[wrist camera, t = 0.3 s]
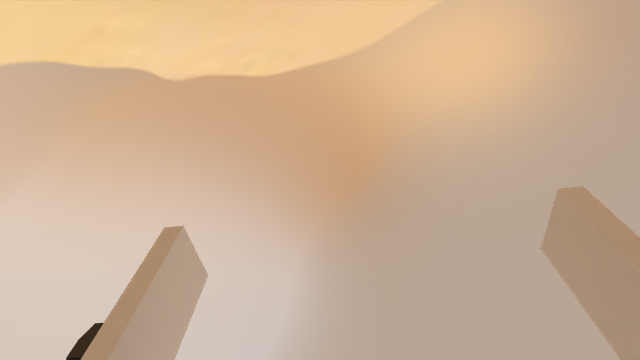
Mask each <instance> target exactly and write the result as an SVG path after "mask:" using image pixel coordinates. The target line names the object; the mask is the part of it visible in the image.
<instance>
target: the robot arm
mask: <svg viewBox="0 0 640 360" xmlns="http://www.w3.org/2000/svg"><path fill="white" fill-rule="evenodd" d="M541 250H542V251H543V252H544V254H545V255H546V257H547V258H548V259H549V261H550V262H551V264H552V265H553V266H554V268H555V269H556V270H557V272H558V273H559V275H560V276H561V277H562V279H563V280H564V282H565V283H566V284H567V286H568V287H569V289H570V290H571V291H572V293H573V294H574V295H575V297H576V298H577V300H578V301H579V302H580V304H581V305H582V307H583V308H584V310H585V311H586V312H587V314H588V315H589V316H590V318H591V319H592V321H593V322H594V323H595V325H596V326H597V328H598V329H599V330H600V332H601V333H602V335H603V336H604V337H605V339H606V340H607V342H608V343H609V344H610V346H611V347H612V349H613V350H614V351H615V353H616V354H617V355H618V357H619V358H620V360H640V237H638V236H637V235H636V234H635V233H634V232H633V231H632V230H631V229H630V228H629V227H627V226H626V225H625V224H624V223H623V222H622V221H621V220H620V219H618V217H616V216H615V215H614V214H613V213H612V212H611V211H610V210H609V209H608V208H606V207H605V206H604V205H603V204H602V203H601V202H599V200H598V199H597V198H595V197H594V196H593V195H592V194H591V193H590V192H589V191H588V190H587V189H585V188H584V187H583V186H582V187H573V188H572V187H571V188H561V189H558V191H557V194H556V198H555V202H554V205H553V208H552V211H551V215H550V219H549V222H548V225H547V229H546V232H545V236H544V239H543V243H542V246H541ZM207 277H208V274H207V272H206V270H205V268H204V266H203V264H202V262H201V260H200V258H199V256H198V254H197V252H196V250H195V248H194V246H193V244H192V242H191V240H190V238H189V236H188V234H187V232H186V230H185V228H184V226H177V227H167V228H164V229H163V231H162V232H161V234H160V235H159V237H158V238H157V240H156V242H155V243H154V245H153V246H152V248H151V250H150V251H149V253H148V254H147V256H146V257H145V259H144V261H143V262H142V264H141V265H140V267H139V268H138V270H137V272H136V273H135V275H134V276H133V278H132V279H131V281H130V283H129V284H128V286H127V287H126V289H125V291H124V292H123V294H122V295H121V297H120V299H119V300H118V302H117V303H116V305H115V306H114V308H113V309H112V311H111V313H110V314H109V316H108V317H107V319H106V320H105V322H104V323H95V324H94V325H93V326H92V327H91V328H90V329H89V330H88V331H87V332H86V333H85V334H84V335H83V336H82V337H81V338H80V339H79V340H78V341H77V343H76V344H75V346H74V347H73V349H72V350H71V352H70V353H69V355H68V356H67V358H66V360H174V359H175V357H176V354H177V352H178V349H179V347H180V344H181V341H182V339H183V337H184V334H185V332H186V329H187V327H188V324H189V322H190V319H191V317H192V314H193V312H194V309H195V307H196V304H197V302H198V299H199V297H200V294H201V292H202V289H203V287H204V284H205V282H206V279H207Z"/></svg>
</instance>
